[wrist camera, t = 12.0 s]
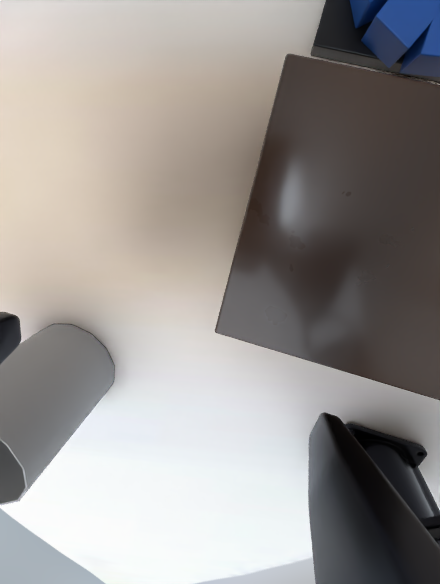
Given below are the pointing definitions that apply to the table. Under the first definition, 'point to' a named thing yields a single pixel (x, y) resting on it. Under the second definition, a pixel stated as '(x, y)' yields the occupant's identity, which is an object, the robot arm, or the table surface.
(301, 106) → the box
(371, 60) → the peg stand
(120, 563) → the table surface
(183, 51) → the table surface
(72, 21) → the table surface
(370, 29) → the ring
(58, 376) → the cup
